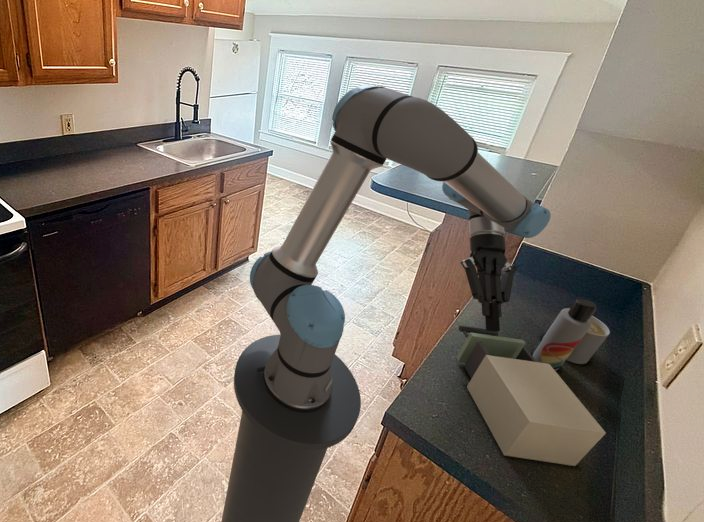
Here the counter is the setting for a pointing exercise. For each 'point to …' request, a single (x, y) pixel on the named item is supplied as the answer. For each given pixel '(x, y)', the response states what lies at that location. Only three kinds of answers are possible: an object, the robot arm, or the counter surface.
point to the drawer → (489, 348)
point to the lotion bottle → (565, 334)
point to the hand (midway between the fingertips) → (492, 330)
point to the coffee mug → (588, 341)
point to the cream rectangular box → (533, 411)
